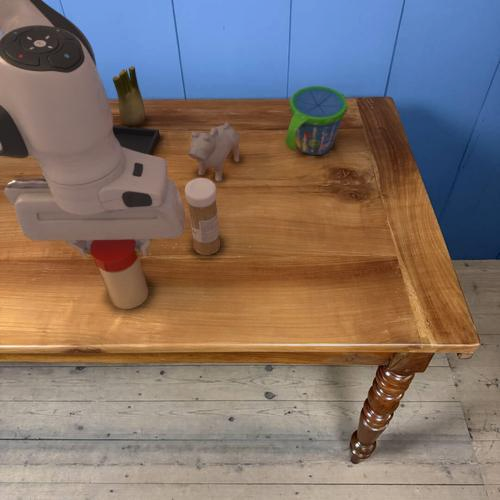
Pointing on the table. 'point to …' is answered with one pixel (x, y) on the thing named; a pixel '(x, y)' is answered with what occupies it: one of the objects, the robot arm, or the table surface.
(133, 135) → the tray
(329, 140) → the snack cup
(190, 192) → the sprinkles bottle
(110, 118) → the robot arm
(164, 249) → the table surface
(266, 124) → the table surface
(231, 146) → the dog figurine
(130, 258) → the lid
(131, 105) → the fennel bulb
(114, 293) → the jar
